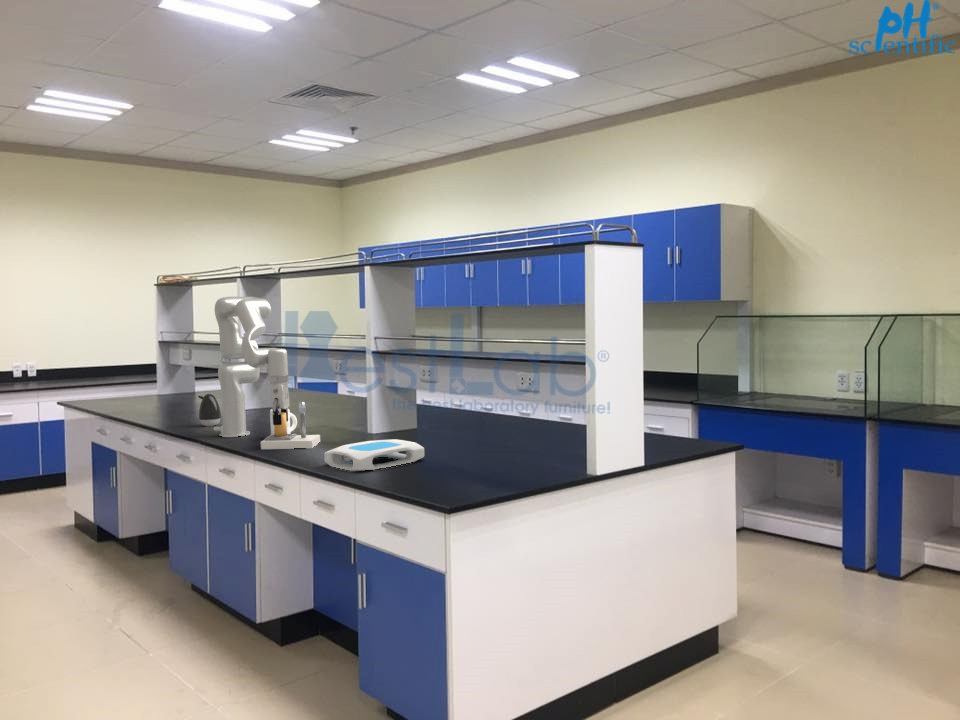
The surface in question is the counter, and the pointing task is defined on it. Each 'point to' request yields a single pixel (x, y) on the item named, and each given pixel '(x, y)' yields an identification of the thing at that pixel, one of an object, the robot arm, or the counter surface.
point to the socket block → (290, 442)
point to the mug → (294, 420)
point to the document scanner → (373, 454)
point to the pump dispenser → (209, 410)
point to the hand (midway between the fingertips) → (280, 423)
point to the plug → (281, 427)
